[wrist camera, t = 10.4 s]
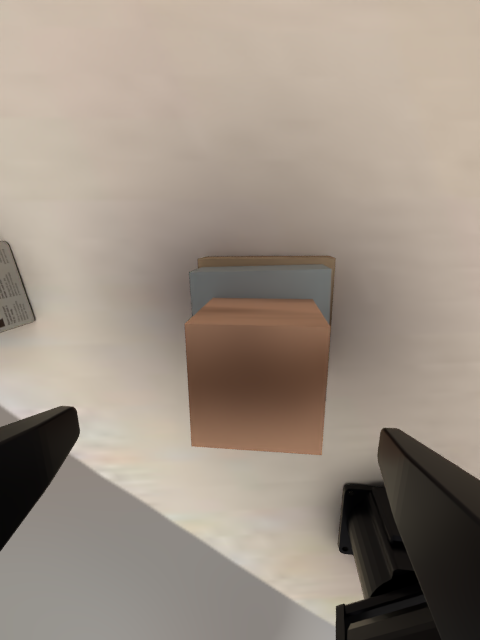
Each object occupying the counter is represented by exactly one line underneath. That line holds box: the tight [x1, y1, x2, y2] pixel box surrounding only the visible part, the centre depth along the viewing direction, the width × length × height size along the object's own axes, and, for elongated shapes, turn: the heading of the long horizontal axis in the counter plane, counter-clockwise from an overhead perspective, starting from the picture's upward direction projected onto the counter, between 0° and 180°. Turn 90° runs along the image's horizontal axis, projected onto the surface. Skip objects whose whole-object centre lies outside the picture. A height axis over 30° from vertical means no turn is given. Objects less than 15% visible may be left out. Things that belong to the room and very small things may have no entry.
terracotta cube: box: [185, 298, 331, 455], centre depth 13 cm, size 5×5×5 cm
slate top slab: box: [189, 264, 332, 401], centre depth 17 cm, size 7×7×3 cm
